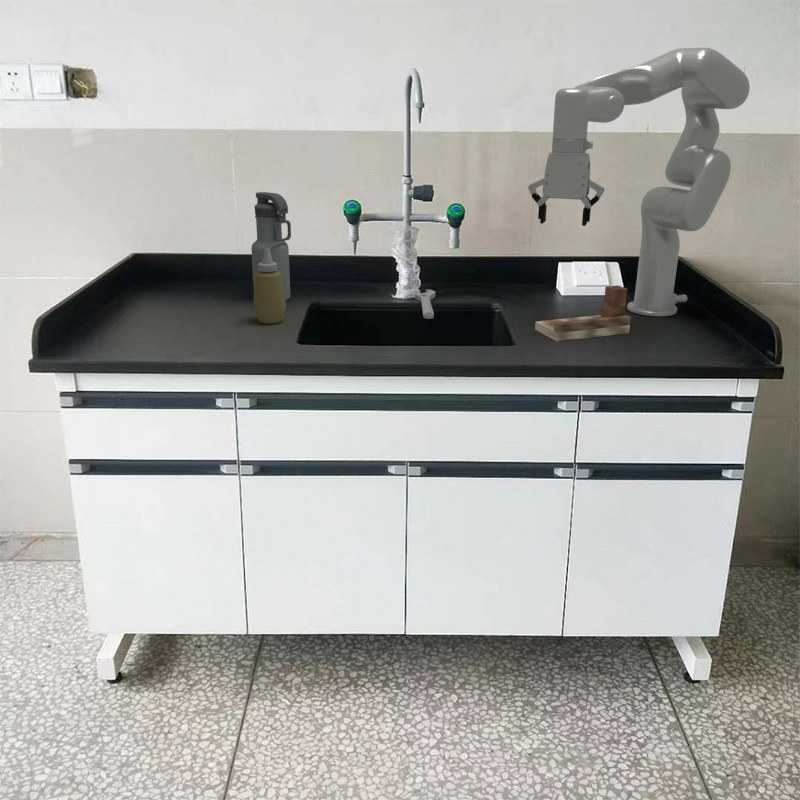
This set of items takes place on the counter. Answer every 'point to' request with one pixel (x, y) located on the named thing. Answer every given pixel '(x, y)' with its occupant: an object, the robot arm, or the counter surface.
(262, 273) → the squeeze bottle
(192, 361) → the counter surface
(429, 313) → the adjustable wrench
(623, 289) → the brown wooden block
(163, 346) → the counter surface
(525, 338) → the counter surface
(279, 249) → the water bottle
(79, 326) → the counter surface
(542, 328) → the board
